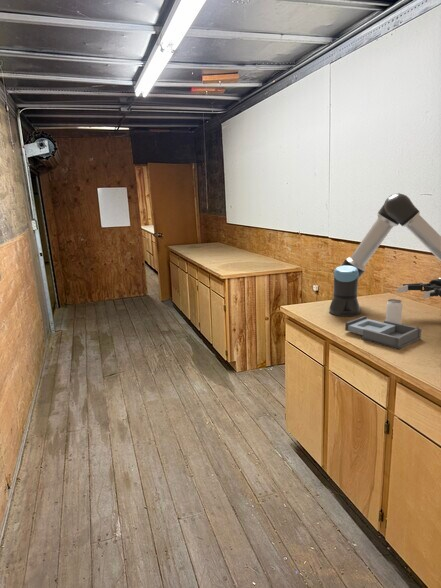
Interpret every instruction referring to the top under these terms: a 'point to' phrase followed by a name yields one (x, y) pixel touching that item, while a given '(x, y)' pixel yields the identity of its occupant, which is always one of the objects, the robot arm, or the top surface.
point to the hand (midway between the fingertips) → (410, 292)
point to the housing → (394, 336)
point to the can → (394, 310)
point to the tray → (368, 326)
